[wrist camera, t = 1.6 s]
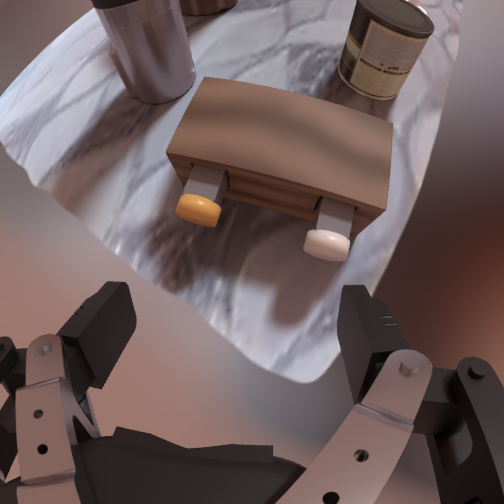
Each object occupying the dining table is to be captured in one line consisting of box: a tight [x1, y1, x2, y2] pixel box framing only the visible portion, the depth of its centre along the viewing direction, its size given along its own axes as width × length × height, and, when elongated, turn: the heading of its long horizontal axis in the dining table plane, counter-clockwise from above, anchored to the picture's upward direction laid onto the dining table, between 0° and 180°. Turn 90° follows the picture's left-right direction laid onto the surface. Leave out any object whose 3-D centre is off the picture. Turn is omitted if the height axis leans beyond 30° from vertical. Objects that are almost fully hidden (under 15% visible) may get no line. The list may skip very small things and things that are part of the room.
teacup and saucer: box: [406, 0, 427, 15], centre depth 42 cm, size 9×8×4 cm
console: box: [166, 77, 393, 235], centre depth 29 cm, size 10×20×8 cm, turn 74°
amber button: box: [175, 164, 229, 227], centre depth 27 cm, size 6×4×4 cm, turn 164°
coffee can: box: [338, 0, 434, 101], centre depth 30 cm, size 10×10×14 cm
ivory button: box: [303, 195, 355, 262], centre depth 26 cm, size 6×4×4 cm, turn 164°
